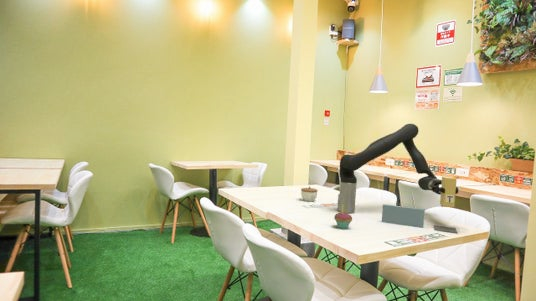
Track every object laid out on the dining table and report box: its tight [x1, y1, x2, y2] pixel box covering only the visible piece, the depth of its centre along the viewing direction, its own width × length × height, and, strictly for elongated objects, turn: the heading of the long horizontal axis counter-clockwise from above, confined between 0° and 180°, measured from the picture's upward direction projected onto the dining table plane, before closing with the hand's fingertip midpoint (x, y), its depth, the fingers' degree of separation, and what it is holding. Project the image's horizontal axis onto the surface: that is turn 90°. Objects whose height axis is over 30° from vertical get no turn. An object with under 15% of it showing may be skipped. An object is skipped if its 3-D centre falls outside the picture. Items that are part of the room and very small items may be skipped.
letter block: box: [439, 176, 457, 208], centre depth 174 cm, size 5×5×14 cm
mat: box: [433, 224, 458, 234], centre depth 175 cm, size 10×10×1 cm
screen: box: [381, 204, 426, 229], centre depth 181 cm, size 20×2×9 cm, turn 67°
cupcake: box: [333, 203, 353, 230], centre depth 168 cm, size 9×8×12 cm
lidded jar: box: [300, 186, 318, 203], centre depth 232 cm, size 11×11×9 cm
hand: (450, 191), depth 171 cm, fingers closed on letter block, 5 cm apart
